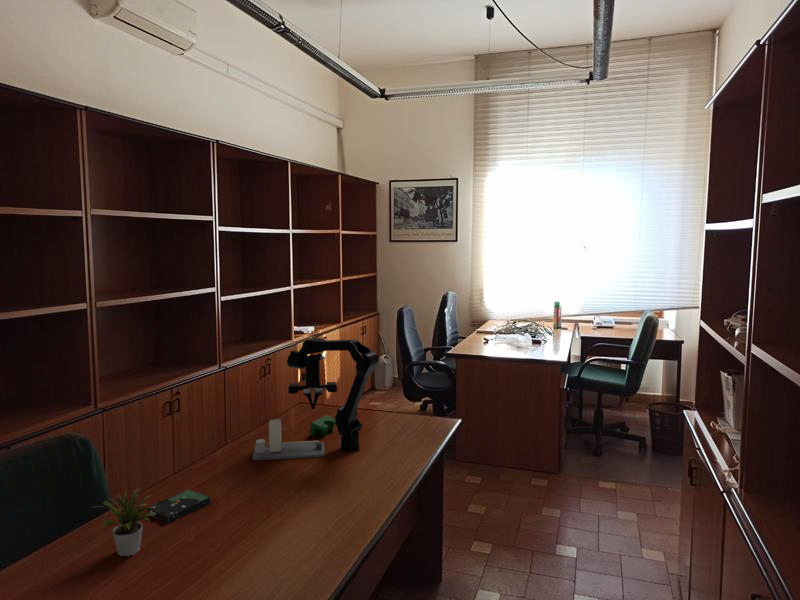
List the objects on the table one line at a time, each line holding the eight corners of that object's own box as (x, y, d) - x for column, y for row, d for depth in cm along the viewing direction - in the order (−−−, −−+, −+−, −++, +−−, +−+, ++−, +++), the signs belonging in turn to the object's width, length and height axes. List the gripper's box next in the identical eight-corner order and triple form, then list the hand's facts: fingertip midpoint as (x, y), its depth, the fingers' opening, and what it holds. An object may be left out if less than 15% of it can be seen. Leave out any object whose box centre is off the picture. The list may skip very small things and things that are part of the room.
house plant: (108, 577, 138) (104, 512, 136) (84, 555, 147) (80, 494, 145) (165, 552, 149) (162, 491, 147) (140, 533, 158) (137, 476, 156)
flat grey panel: (324, 444, 224) (323, 432, 224) (324, 456, 213) (324, 443, 212) (255, 448, 221) (255, 435, 220) (252, 460, 209) (251, 447, 208)
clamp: (322, 446, 234) (321, 431, 229) (310, 441, 237) (308, 425, 232) (338, 428, 243) (338, 412, 238) (326, 422, 246) (326, 407, 241)
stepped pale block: (281, 446, 219) (280, 419, 218) (280, 451, 213) (280, 424, 212) (270, 446, 218) (270, 419, 217) (269, 452, 212) (268, 424, 211)
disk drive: (169, 526, 163) (211, 504, 176) (168, 517, 163) (211, 496, 175) (146, 516, 169) (189, 496, 181) (146, 507, 168) (188, 487, 181)
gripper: (335, 364, 235) (336, 402, 237) (289, 366, 232) (289, 403, 234) (336, 371, 224) (337, 410, 226) (287, 372, 221) (288, 412, 223)
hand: (313, 408), depth 227 cm, fingers closed
